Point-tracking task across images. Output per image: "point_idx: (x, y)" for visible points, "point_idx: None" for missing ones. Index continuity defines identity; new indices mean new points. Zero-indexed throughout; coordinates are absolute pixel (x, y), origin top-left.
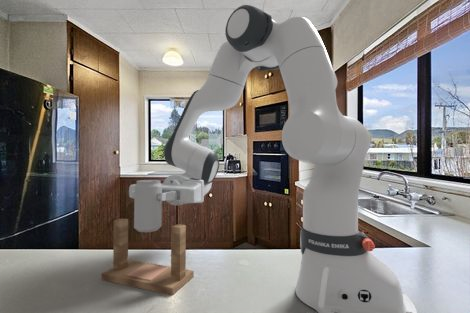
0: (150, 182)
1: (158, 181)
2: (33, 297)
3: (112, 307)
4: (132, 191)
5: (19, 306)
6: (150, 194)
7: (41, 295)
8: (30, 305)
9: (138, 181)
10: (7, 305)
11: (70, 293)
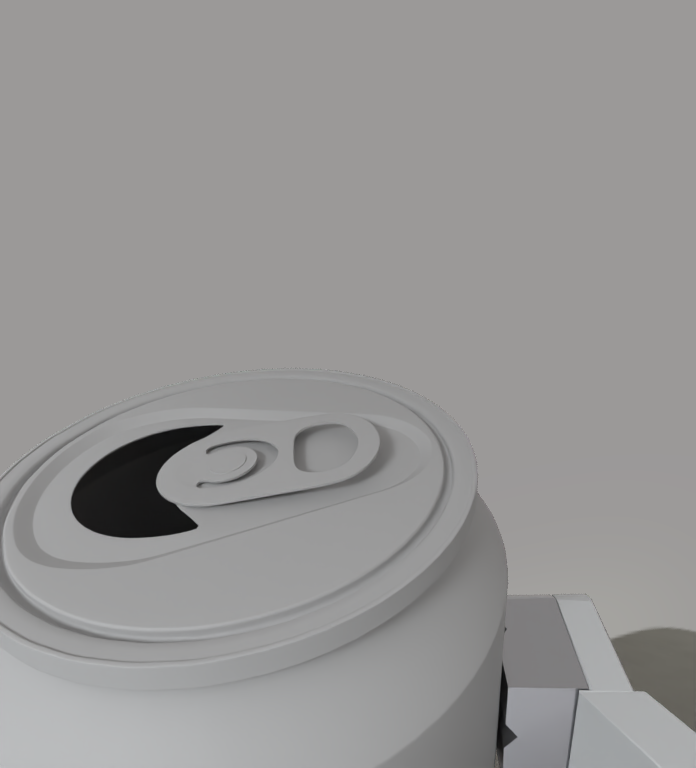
0: (138, 403)
1: (10, 467)
2: (687, 689)
3: None
4: (579, 599)
5: (643, 640)
6: (163, 534)
7: (682, 709)
8: (620, 654)
9: (357, 388)
10: (685, 632)
11: None
